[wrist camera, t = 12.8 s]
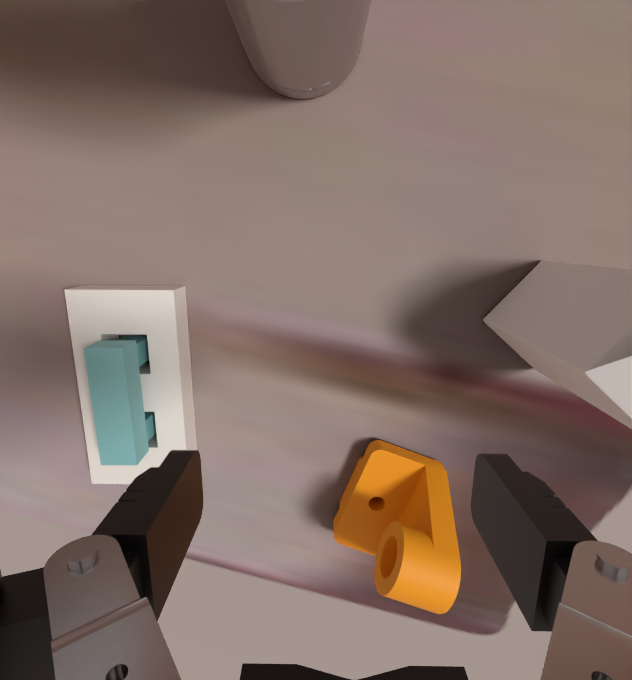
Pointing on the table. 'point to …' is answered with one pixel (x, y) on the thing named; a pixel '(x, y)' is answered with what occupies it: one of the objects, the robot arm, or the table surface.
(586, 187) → the table surface
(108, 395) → the teal block
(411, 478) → the bracket
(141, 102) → the table surface
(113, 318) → the white slotted board
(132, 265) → the table surface
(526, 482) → the robot arm
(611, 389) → the milk carton
